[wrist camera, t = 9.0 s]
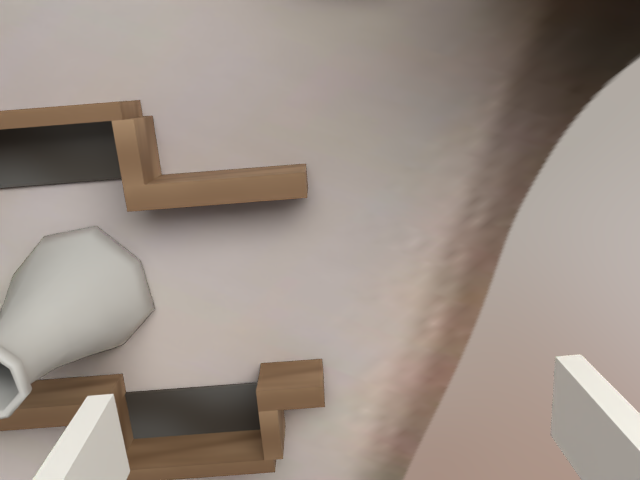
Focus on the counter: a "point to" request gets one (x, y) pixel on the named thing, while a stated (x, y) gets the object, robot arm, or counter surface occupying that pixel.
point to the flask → (67, 308)
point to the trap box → (133, 407)
